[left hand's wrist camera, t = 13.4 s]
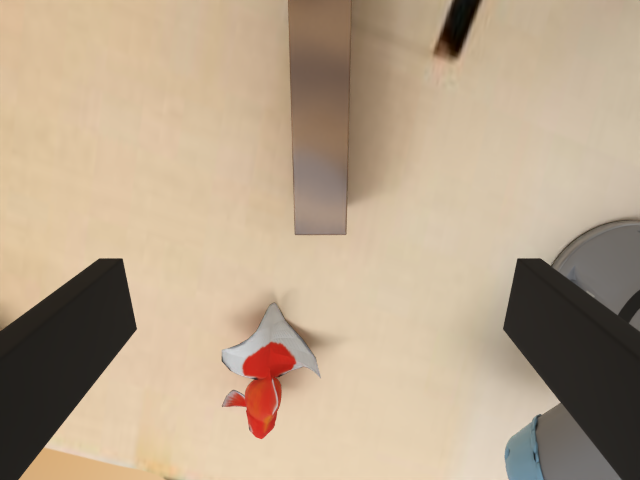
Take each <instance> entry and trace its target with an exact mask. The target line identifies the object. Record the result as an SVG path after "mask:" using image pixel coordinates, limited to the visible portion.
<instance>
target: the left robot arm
mask: <svg viewBox="0 0 640 480" xmlns="http://www.w3.org/2000/svg"><path fill="white" fill-rule="evenodd" d="M136 330H137V327H136V322H135V318H134V313H133V308H132V303H131V298H130V293H129V288H128V283H127V278H126V273H125V268H124V264H123V259H98V260H97V261H95V262H94V263H93V264H91V265H90V266H89V267H87V268H86V269H85V270H83V271H82V272H80V273H79V274H78V275H76V276H75V277H74V278H72V279H71V280H70V281H68V282H67V283H65V284H64V285H63V286H61V287H60V288H59V289H57V290H56V291H55V292H53V293H52V294H51V295H49V296H48V297H46V298H45V299H44V300H42V301H41V302H40V303H38V304H37V305H36V306H34V307H33V308H31V309H30V310H29V311H27V312H26V313H25V314H23V315H22V316H21V317H19V318H18V319H17V320H15V321H14V322H12V323H11V324H10V325H8V326H7V327H6V328H4V329H3V330H2V331H0V480H18V479H19V478H20V477H21V476H22V474H23V473H24V472H25V471H26V469H27V468H28V467H29V465H30V464H31V463H32V462H33V460H34V459H35V458H36V457H37V455H38V454H39V453H40V452H41V450H42V449H43V448H44V446H45V445H46V444H47V443H48V441H49V440H50V439H51V438H52V436H53V435H54V434H55V432H56V431H57V430H58V429H59V427H60V426H61V425H62V424H63V422H64V421H65V420H66V418H67V417H68V416H69V415H70V413H71V412H72V411H73V410H74V408H75V407H76V406H77V404H78V403H79V402H80V401H81V399H82V398H83V397H84V396H85V394H86V393H87V392H88V391H89V389H90V388H91V387H92V385H93V384H94V383H95V382H96V380H97V379H98V378H99V377H100V375H101V374H102V373H103V371H104V370H105V369H106V368H107V366H108V365H109V364H110V363H111V361H112V360H113V359H114V357H115V356H116V355H117V354H118V352H119V351H120V350H121V349H122V347H123V346H124V345H125V344H126V342H127V341H128V340H129V338H130V337H131V336H132V335H133V333H134V332H135V331H136ZM503 330H504V331H505V332H506V333H507V335H508V336H509V337H510V338H511V340H512V341H513V342H514V344H515V345H516V346H517V347H518V349H519V350H520V351H521V352H522V354H523V355H524V356H525V357H526V359H527V360H528V361H529V363H530V364H531V365H532V366H533V368H534V369H535V370H536V371H537V373H538V374H539V375H540V377H541V378H542V379H543V380H544V382H545V383H546V384H547V385H548V387H549V388H550V389H551V391H552V392H553V393H554V394H555V396H556V397H557V398H558V399H559V401H560V402H561V403H560V404H558V405H557V406H555V407H554V408H552V409H551V410H549V411H548V412H546V413H544V414H543V415H541V414H539V415H537V416H535V417H534V418H533V420H532V422H531V423H530V424H528V425H527V426H526V427H524V428H523V429H522V430H520V431H519V432H518V433H517V434H515V435H514V436H512V437H511V438H510V440H509V441H508V443H507V445H506V449H505V462H506V471H507V475H508V479H509V480H640V221H635V220H626V221H617V222H612V223H608V224H605V225H602V226H599V227H597V228H594V229H592V230H590V231H588V232H586V233H585V234H583V235H581V236H580V237H578V238H577V239H576V240H574V241H573V242H572V243H571V244H570V245H568V246H567V247H566V248H565V249H564V250H563V252H562V253H561V254H560V255H559V256H558V258H557V259H556V260H555V262H554V263H553V265H552V267H551V266H550V265H549V264H547V263H546V262H545V261H543V260H542V259H517V264H516V268H515V273H514V278H513V283H512V288H511V293H510V298H509V303H508V308H507V313H506V318H505V322H504V327H503Z"/></svg>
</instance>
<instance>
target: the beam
mask: <svg viewBox="0 0 640 480" xmlns="http://www.w3.org/2000/svg"><path fill="white" fill-rule="evenodd" d="M351 7H352V0H288V14H289V48H290V83H291V118H292V152H293V187H294V222H295V235H346V226H347V182H348V138H349V94H350V50H351Z"/></svg>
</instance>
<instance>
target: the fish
mask: <svg viewBox="0 0 640 480" xmlns="http://www.w3.org/2000/svg"><path fill="white" fill-rule="evenodd" d="M222 362H223V363H224V364H225V365H226V366H227V367H228V368H229V370H230V371H232V372H234V373H236V374H238V375H241V376H244V377H248V378H251V379H255V380H253V381H252V382H251V383H250V384H249V385H248V387H247V389H246V392H245V396H244V395H243V394H242V393H240V392H238V391H236V390H232V391H231V392H230V393H229V394H228V395H227V396H226V398H225V400H224V402H223V405H222V407H223V406H225V407H230V406H242V407H247V410H246V413H247V417H248V424H249V430H250V431H251V432H252V433H253V434H254V436H255V437H257V438H260V439H263V438H264V437H265V436H266V435H267V434H268V433H269V432H270V431H271V430H272V429H273V428H274V426H275V421H276V416H277V411H278V409H279V406H280V402H281V388H282V387H281V384H280V382H279V381H278V379H276V378H275V377H280V376H282V375H284V374H285V373H287V372H289V371H291V370H294V369H298V368H301V367H307V368H309V369H311V370H312V371H314V372H315V373H316V374H317V375H318V376H319V377H320V373H319V369H318V365H317V361H316V357H315V356H314V355H313V353H312V352H311V350H310V349H309V347H308V346H307V345H306V343H305V342H304V340H303V339H302V338H301V337H300V336H299V335H298V334H297V333H296V332H295V330H294V329H293V328H292V327H291V326H290V325H289V324H288V323H287V322H286V320H285V319H284V317H283V315H282V313H281V311H280V309H279V308H278V306H277V304H276V303H275V302H274V303H272V304H271V305H269V307H268V309H267V311H266V313H265V315H264V317H263V319H262V321H261V323H260V325H259V327H258V329H257V331H256V332H255V333H254V334H253V335H252V336H251V337H250V338H249V339H247V340H245V341H244V342H242V343H240V344H239V345H236V346H233V347H231V348H228V349H224V350H222ZM320 378H321V377H320Z"/></svg>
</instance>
